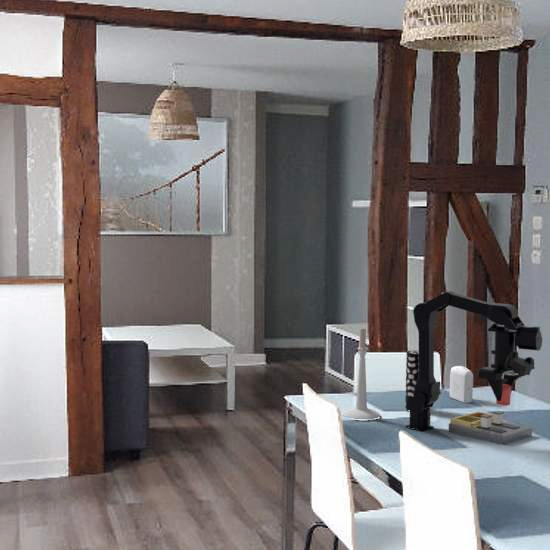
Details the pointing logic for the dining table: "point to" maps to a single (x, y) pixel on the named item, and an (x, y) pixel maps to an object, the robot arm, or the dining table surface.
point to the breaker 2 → (498, 417)
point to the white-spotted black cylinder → (411, 373)
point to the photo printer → (461, 384)
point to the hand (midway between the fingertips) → (503, 399)
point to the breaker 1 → (486, 420)
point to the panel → (488, 429)
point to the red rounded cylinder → (505, 395)
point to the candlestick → (361, 387)
